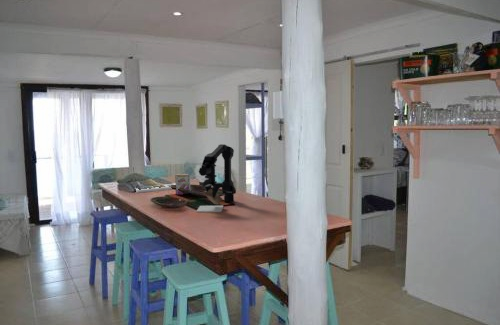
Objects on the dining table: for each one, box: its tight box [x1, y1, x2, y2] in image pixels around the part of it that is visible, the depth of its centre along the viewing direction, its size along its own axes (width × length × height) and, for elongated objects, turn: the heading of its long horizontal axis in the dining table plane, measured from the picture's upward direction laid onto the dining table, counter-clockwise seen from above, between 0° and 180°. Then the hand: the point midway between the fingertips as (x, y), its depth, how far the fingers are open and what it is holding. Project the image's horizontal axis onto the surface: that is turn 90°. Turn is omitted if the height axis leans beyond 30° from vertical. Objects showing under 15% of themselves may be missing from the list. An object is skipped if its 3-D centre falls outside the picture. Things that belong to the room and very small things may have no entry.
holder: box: [135, 182, 176, 194], centre depth 346 cm, size 45×18×3 cm, turn 120°
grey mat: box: [196, 205, 224, 213], centre depth 260 cm, size 16×16×1 cm
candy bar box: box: [174, 173, 191, 196], centre depth 316 cm, size 11×5×16 cm, turn 84°
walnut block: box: [205, 189, 223, 206], centre depth 261 cm, size 5×5×10 cm
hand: (211, 197), depth 260 cm, fingers closed on walnut block, 5 cm apart
